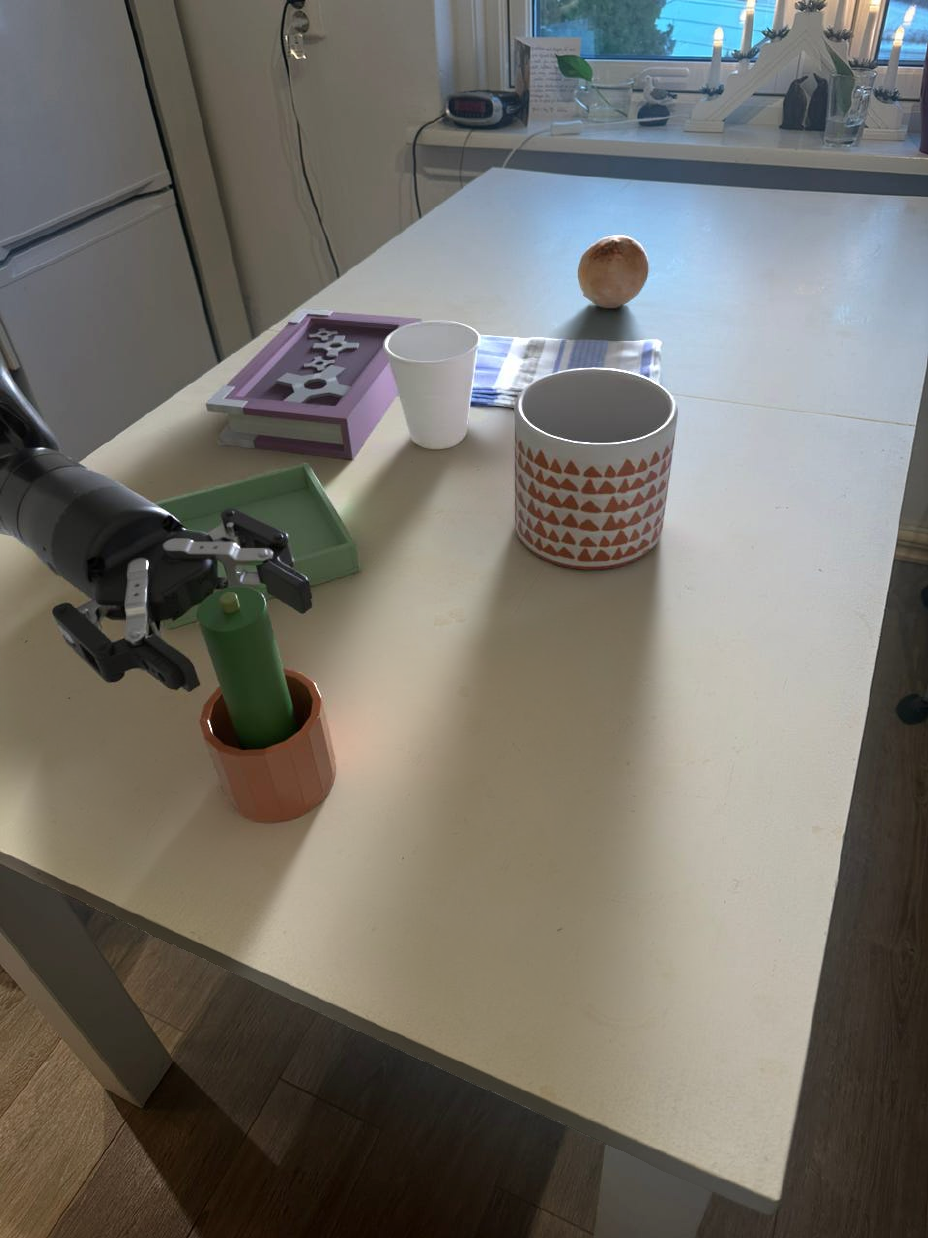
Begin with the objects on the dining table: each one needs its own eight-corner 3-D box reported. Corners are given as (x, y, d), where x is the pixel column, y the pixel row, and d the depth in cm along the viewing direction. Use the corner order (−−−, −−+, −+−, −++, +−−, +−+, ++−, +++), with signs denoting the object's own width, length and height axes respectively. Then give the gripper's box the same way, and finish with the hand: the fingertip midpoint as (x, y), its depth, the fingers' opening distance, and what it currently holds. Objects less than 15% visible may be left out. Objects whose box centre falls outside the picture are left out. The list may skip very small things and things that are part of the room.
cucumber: (257, 801, 59) (200, 629, 48) (243, 759, 62) (187, 588, 51) (314, 780, 60) (270, 607, 50) (298, 740, 63) (253, 568, 52)
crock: (238, 840, 58) (214, 773, 53) (214, 756, 63) (190, 689, 58) (350, 797, 60) (336, 730, 55) (317, 720, 65) (302, 653, 61)
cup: (467, 466, 91) (462, 367, 83) (379, 453, 93) (367, 356, 86) (495, 419, 98) (493, 324, 90) (412, 409, 100) (404, 316, 93)
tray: (168, 629, 74) (158, 602, 72) (141, 534, 84) (131, 507, 82) (360, 571, 78) (356, 544, 76) (312, 488, 89) (307, 462, 87)
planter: (554, 589, 75) (558, 461, 67) (492, 506, 85) (488, 386, 77) (690, 548, 79) (711, 422, 70) (616, 473, 88) (626, 355, 80)
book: (307, 345, 114) (301, 308, 111) (425, 355, 111) (422, 317, 107) (216, 444, 96) (205, 403, 93) (352, 460, 93) (346, 418, 89)
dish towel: (658, 423, 95) (661, 400, 94) (449, 409, 100) (447, 386, 98) (665, 354, 108) (668, 332, 106) (479, 344, 112) (478, 323, 110)
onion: (603, 335, 120) (593, 281, 111) (571, 294, 124) (559, 239, 115) (664, 300, 119) (659, 243, 111) (630, 260, 124) (622, 202, 115)
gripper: (-21, 542, 53) (128, 658, 45) (174, 445, 61) (332, 528, 53) (26, 633, 58) (168, 752, 50) (201, 532, 66) (349, 621, 58)
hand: (252, 637), depth 51 cm, fingers open, 8 cm apart
